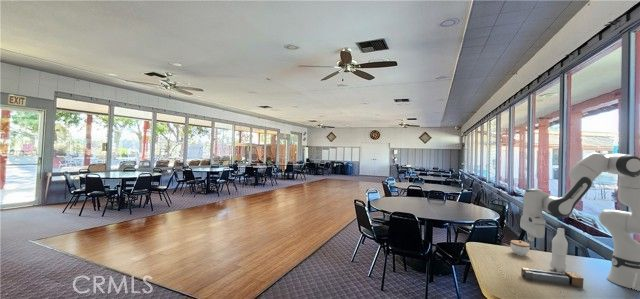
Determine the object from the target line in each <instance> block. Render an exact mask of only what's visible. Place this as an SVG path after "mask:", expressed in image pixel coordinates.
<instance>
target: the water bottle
mask: <svg viewBox="0 0 640 299" xmlns="http://www.w3.org/2000/svg"><path fill="white" fill-rule="evenodd" d="M565 234H566V233H565V228H560V227H557V230H556V235H555V236H554V237H553V238H552V240H551V260H550V270H552V271H555V272H560V273H564V271H567V264H566V262H567V260H566V258H567V256H568V245H569V243H568V240H567V238H566V236H565Z"/></svg>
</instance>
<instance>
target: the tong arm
mask: <svg viewBox="0 0 640 299" xmlns="http://www.w3.org/2000/svg"><path fill="white" fill-rule="evenodd" d="M524 271H531V272H537V273H545V274H552V275H560V276H567V274H566V273H564V272H557V271H553V270H552V271H550V270H544V269H542V270H541V269H534V268H527V267H521V276H522V277H523V278H524Z"/></svg>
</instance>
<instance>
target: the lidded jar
mask: <svg viewBox="0 0 640 299" xmlns="http://www.w3.org/2000/svg"><path fill="white" fill-rule="evenodd" d="M530 246H531V244H530V243H528V242H526V241H523V240H516V239H512V240H510V249H511V251H512V253H513V254H515V255H516V254H517V256H519V255H520V256H521V257H525V256H527V255H528V253H529V252H530Z"/></svg>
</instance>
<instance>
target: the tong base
mask: <svg viewBox="0 0 640 299" xmlns="http://www.w3.org/2000/svg"><path fill="white" fill-rule="evenodd" d="M563 273H566V274H567V276H560V275H552V274H545V273H537V272H531V271H524V277H523V279H524V280H526V281H531V282H532V281H533V282H541V283H548V284H552V285H553V284H555V285H563V286H569V287H570V286H571V287H575V288H581V289H583V288H584V281H585V280H584V277H582V276H581V275H579V274H578V273H576V272H574V271H567V270H565V271H564V272H563Z"/></svg>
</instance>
